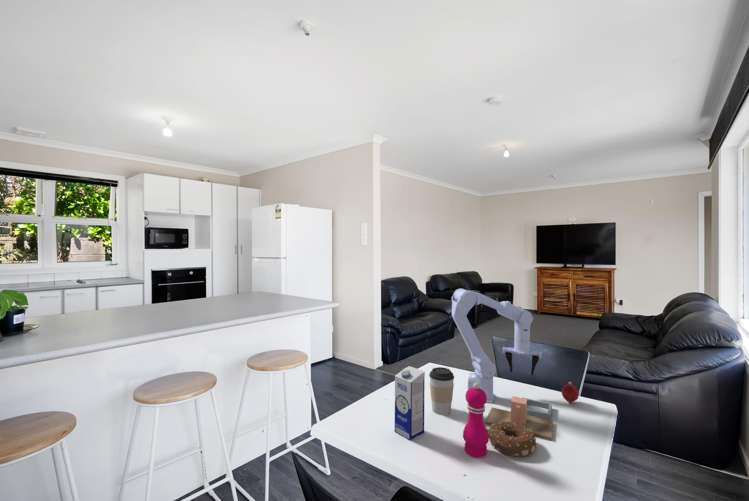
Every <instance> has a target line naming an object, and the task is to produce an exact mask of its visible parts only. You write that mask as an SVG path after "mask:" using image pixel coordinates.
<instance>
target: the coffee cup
mask: <svg viewBox="0 0 749 501" xmlns="http://www.w3.org/2000/svg"><path fill="white" fill-rule="evenodd" d="M428 376H429V387H430V388H429V389H430V390H429V391H430V400H431V411H432V412H433V413H434V414H437V415H441V416H447V415H449V414H451V412H452V401H453V396H454V395H453V394H454V384H455V383H454V379H455V376H454V373H453V372H452V371H451V369H449V368H447V367H441V366H439V367H438V366H437V367H433V368H432V370H431V371H430V372H429V374H428Z"/></svg>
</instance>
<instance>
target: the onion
mask: <svg viewBox="0 0 749 501" xmlns="http://www.w3.org/2000/svg"><path fill="white" fill-rule="evenodd" d="M561 395H562V398H563V399H564V400H565V401H567V402H568V403H569V404H571V403H574V402H576V401H577V400H578V399H579V396H580V394H579V390H578V389H577V387H576V386H575V385H573V382H572V381H569V382H568V383H567V384H564V385H563V387H562V388H561Z"/></svg>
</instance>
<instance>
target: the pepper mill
mask: <svg viewBox="0 0 749 501" xmlns="http://www.w3.org/2000/svg"><path fill="white" fill-rule="evenodd" d="M464 396H465V400H466V402H467V405H466V406H467V407H466V409H467V411H468V416H467V417H468V419H467V422H466V423H465V426H464V428H463V432H462V438H463V440H464V442H465V443H464V452H465V453H466V454H467V455H469V456H470V457H474V458H477V459H478V458H479V459H480V458H484V457H486V456H487V453H488V446H487V444H489V442H490V440H489V436H488V432H487V427H486V424H485V419H484V413H485V412H486V406H485V405H486V403H488V402H487V396H486V393H485V392H484V391H483V390H482V389H480V388H479V384H478V383H474V384H473V388H470V389H468V388H467V391H466V392H465V395H464Z"/></svg>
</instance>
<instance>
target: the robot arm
mask: <svg viewBox="0 0 749 501" xmlns="http://www.w3.org/2000/svg"><path fill="white" fill-rule="evenodd" d="M480 304H481V305H485V306H487V307H489V308H491V309H494V310H496V312H497V313H498V315H500V316H501V317H502V316H503V317H505V318H507V319H509V320H511V321H513V322H514V331H513V333H514V334H513V335H514V339H513V340H514V342H513V343H514V344H513V346H514V347H508V346H507V347H506V346H503V347H502V354H504V355H505V358H506V360H507V363H508V366H509V373H513V369H514V368H513V367H514V366H513V355H520V356H527V357H528V356H529V357H531V371H530V372H531V374H530V375H531V376H534V372H535V368H536V366H537V364H538V362H539V360H540V359H541V358H543V352H542V351H539V350H533V349H531V340H530V339H531V325H532V323H533V322H534V317H533V314H532V313H531V311H528V310H526V309H523V308H522V306H520V305H515V304H512V301H508V300H506V301H505V300H504V301H497V300H495V299H493V298H491V297H489V296H487V295H484V294H482V293H480V292H477V291H472V290H469V289H468V290H467V289H464V288H457V289H455V291H454V292H453V294H452V296H451V317H452V319H453V321H454V323H455V326H456V327H457V328H458V331H459V333H460V335H461V337H462V338H463V340H464V343H465V345H466V346H467V349H468V351H469V353H470V358H471V364H472V367H473V369H474V372H470V373H469V374H468V378H467V390H468V389H470V388H473V384H474V383H478V384H479V388H480V389H482V390H483V391H484V392H485V393H486V396H487V402H486V403H490V404H492V403H493V401H494V399H495V398H496V394H495V393H494V376H495V375H496V372H497V366H496V365H495V364H494V363H493V362H492V361H491V360H490V357H489V356H488V355H487V354H486V353H485V351H484V349H483V347H482V345H481V344H480V341H479V339H478V337H477V336H476V335H477V334H476V333H475V331H474V328H473V327H472V325H471V323H470V321H469V319H468V317H467V315H468V314H469V312H470V310H471V309H472V308H473V307H474V306H478V305H480Z"/></svg>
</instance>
